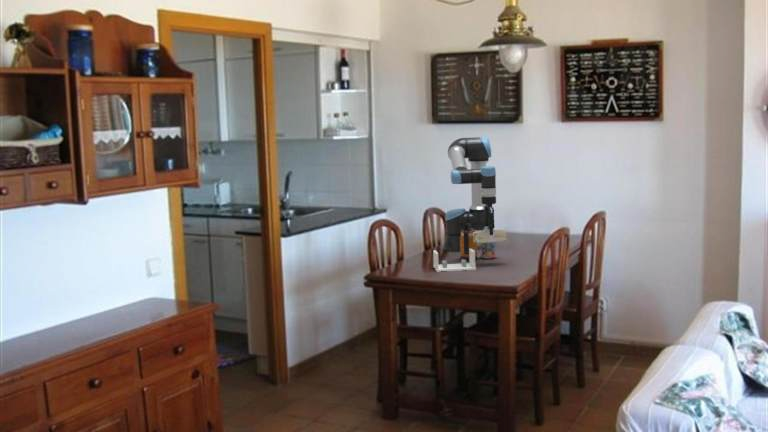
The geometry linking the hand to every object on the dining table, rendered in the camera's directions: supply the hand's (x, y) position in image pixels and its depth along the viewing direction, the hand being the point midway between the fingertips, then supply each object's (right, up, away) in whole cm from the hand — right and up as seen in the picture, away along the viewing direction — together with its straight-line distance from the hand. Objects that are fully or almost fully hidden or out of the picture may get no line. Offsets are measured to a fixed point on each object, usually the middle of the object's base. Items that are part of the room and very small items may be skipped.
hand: (489, 239), depth 414 cm
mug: (+2, -10, +21) cm, 23 cm away
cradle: (-19, -14, -6) cm, 24 cm away
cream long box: (0, -1, 0) cm, 1 cm away
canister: (-9, -11, +16) cm, 22 cm away
